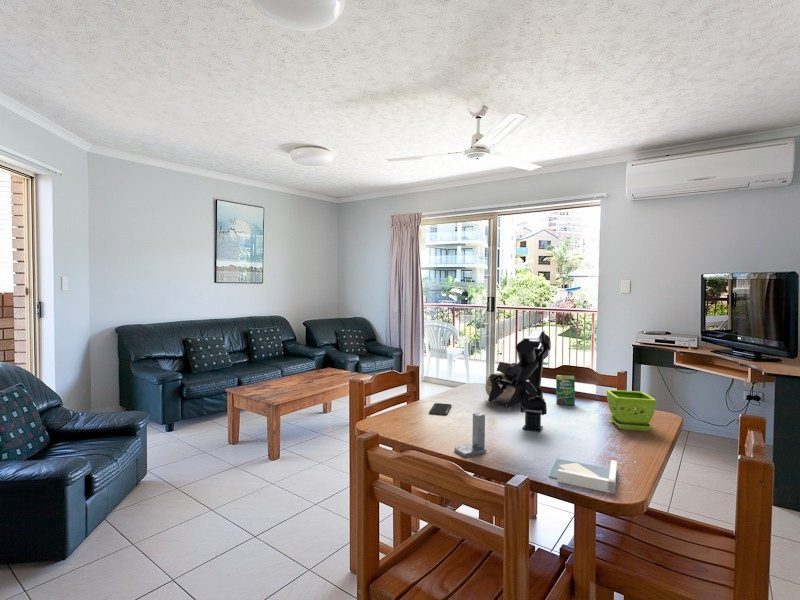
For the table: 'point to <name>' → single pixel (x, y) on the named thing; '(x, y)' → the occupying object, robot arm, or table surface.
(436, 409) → the phone
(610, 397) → the flower pot
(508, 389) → the cooking pot
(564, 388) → the coffee box
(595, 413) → the table surface
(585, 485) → the walls
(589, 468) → the mat
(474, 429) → the bracket
